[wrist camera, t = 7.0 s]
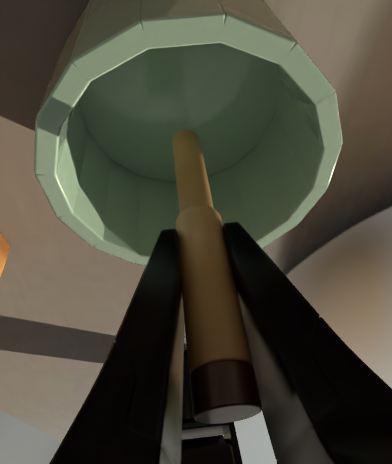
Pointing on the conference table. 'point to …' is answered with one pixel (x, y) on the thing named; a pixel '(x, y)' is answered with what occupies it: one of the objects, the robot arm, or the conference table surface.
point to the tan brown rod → (210, 298)
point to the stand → (3, 252)
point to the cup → (183, 121)
